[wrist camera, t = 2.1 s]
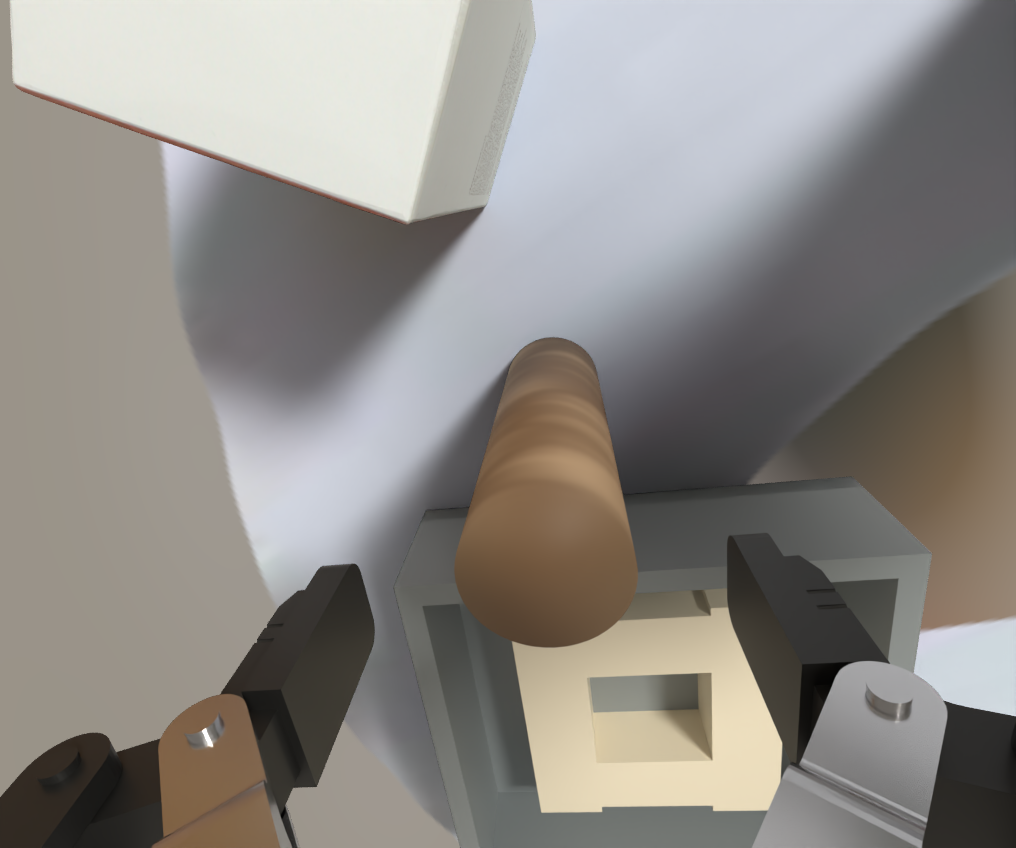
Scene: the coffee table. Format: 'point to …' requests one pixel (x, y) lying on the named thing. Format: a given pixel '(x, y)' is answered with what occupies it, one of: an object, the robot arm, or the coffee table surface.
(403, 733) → the coffee table surface
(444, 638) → the bin
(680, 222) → the coffee table surface
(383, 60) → the small box
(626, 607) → the peg
